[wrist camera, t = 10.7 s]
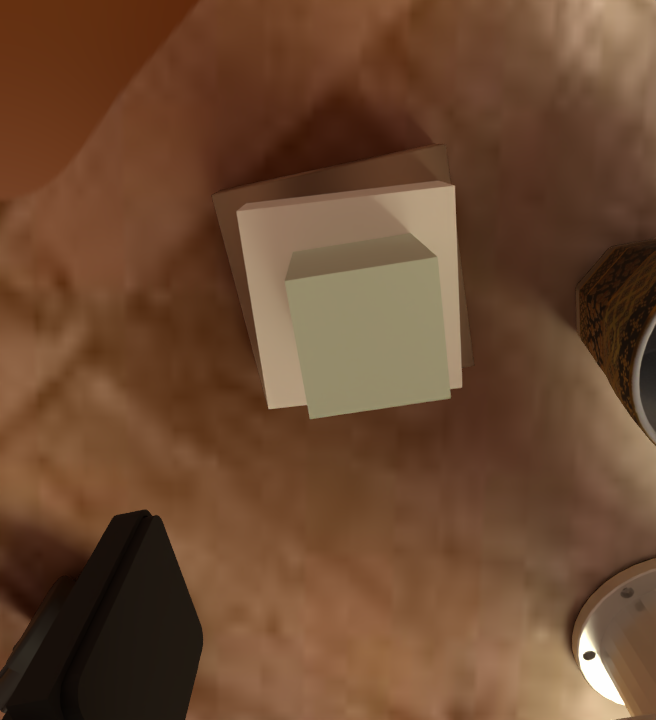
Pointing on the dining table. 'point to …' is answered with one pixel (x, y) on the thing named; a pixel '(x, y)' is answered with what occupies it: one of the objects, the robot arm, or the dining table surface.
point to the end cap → (33, 638)
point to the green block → (368, 325)
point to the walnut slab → (333, 179)
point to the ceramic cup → (623, 325)
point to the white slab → (334, 227)
